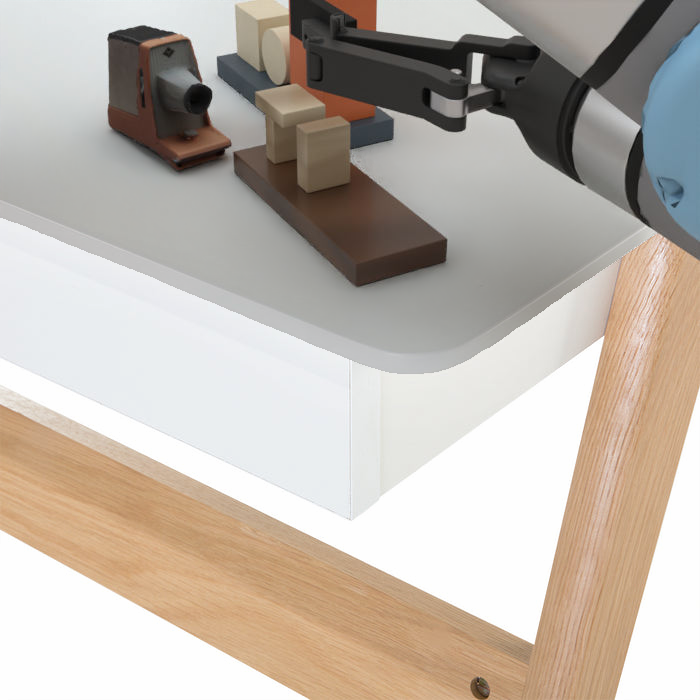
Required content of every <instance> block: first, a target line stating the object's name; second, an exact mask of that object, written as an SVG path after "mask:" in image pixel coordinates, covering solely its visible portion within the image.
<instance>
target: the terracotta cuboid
mask: <svg viewBox="0 0 700 700" xmlns="http://www.w3.org/2000/svg"><path fill="white" fill-rule="evenodd" d="M325 1H327V2H329V3H330V4H332V5H334V6H335V7H337V8H338V9H340V10H342V11H343V12H345V13H347V14H348V15H350V16H352V17H353V18H355V19H357V29H365V30H372V31H377V20H378V19H377V18H378V17H377V15H378V0H325ZM288 9H289V41H290V82H291V84H298V85H299V86H301V87H302V88H303V89H305V90H306V91H307V92H309V93H310V94H311V95H313V96H314V97H315V98H317V99H318V100H319V101H321V102H322V103H323V104H325V119H326V118H331V117H335V116H341V117H342V118H344V119H345V120H346V121H348V122H351V121H355V120H360V119H364V118H369V117H373V116H375V106H374V105H370V104H367V103H363V102H359V101H356V100H352V99H348V98H345V97H341V96H337V95H334V94H330V93H326V92H323V91H319V90H315V89H312V88H309V87H308V86H307V77H306V49H304V48H303V45H302V41H300V40H299V39H297V38H296V37H294V36H293V35H291V27H290V0H288Z"/></svg>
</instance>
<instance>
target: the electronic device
mask: <svg viewBox="0 0 700 700" xmlns="http://www.w3.org/2000/svg"><path fill="white" fill-rule="evenodd" d="M106 40H107V49H108V53H107V57H108V59H107V61H108V62H107V63H108V65H107V69H108V104H107V110H106V111H107V123H108V126H109V127H110V128H111V129H112V130H114V131H118V132H120V133H122V134H124V135H125V136H127V137H128V138H129V139H131V140H133V141H134V142H135V143H137V144H140V145H142V146H144V147H145V148H146V149H150V150H153V151H154V152H156V154H157V155H159V156H161V158H162V159H163V160H164V161H165V162H167V163H169V164H170V166H171V168H173V170H175V171H182V170H185V169H187V168H191V167H195V166H198V165H202V164H205V163H207V162H211V161H215V160H219V159H221V158H223V157H224V156H225V154H226V149H230V148H231V147H232V146H233V142H232V140H231V138H229V137H228V136H227V135H225V134H224V133H222V132H221V131H220V130H219V129H217V127H215V126H214V125H213V124H212V121H211V117H210V115H209V108H210V107H211V103H212V101H213V90H212V88H211V87H210V86H208V85H207V84H205V83H203V78H202V75H201V72H200V69H199V63H198V59H197V56H196V54H195V50H194V46H193V45H192V44H193V43H192V41H191V38H189V37H188V36H185V35H184V34H182V33H180V34H179V33H177V32H174V31H171V30H164V29H159V28H156V27H152V26H148V25H145V24H141V25H140V24H139V25H136V26H134V27H127V28H125V29H117V30H114V31H111V32H109V33H108V35H107V37H106Z"/></svg>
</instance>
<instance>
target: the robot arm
mask: <svg viewBox="0 0 700 700" xmlns="http://www.w3.org/2000/svg"><path fill="white" fill-rule="evenodd" d="M476 2H478V3H479V4H480V5H482V6H483V7H485V9H487V10H488V11H490V12H491V13H493V14H494V15H495V16H496V17H498V19H500V20H502V21H503V22H504V23H505V24H507V25H508V26H510V27H511V28H512V29H513V30H515V31H516V32H518V33H519V34H520V35H513V36H511V37H509V38H503V37H495V36H489V35H480V34H473V33H464V34H462V36H460V38H459V39H458V40H457V41H455V40H454V41H453V40H446V39H440V38H439V39H438V38H432V37H424V36H417V35H409V34H402V33H395V32H387V31H381V30H380V31H379V30H376V31H372V30H365V29H357V19H355V18H353V17H352V16H350V15H348V14H347V13H345V12H343V11H342V10H340V9H338V8H337V7H335V6H334V5H332V4H330V3H329V2H327V1H325V0H290V27H291V35H293V36H294V37H296V38H297V39H299V40H300V41H302V45H303V48H304V49H306V77H307V86H308V87H309V88H312V89H315V90H319V91H323V92H326V93H330V94H334V95H337V96H341V97H345V98H348V99H352V100H356V101H359V102H363V103H367V104H370V105H374V106H376V107H378V108H380V109H381V108H382V109H386V110H389V111H393V112H396V113H401V114H403V115H407V116H411V117H415V118H419V119H421V120H424V121H426V122H428V123H430V124H431V125H434V126H435V127H437V128H439V129H441V130H443V131H444V132H448V133H461V132H465V130H466V129H467V120H468V115H469V114H473V113H476V112H479V111H482V110H485V111H486V112H488V113H490V114H492V115H496V116H500V117H505V118H508V119H510V120H513V122H514V123H515V125H516V126H517V128H518V130H519V132H520V134H521V135H522V138H523V139H524V141H525V143H526V145H527V146H528V149H530V151H531V152H532V153H533V154H534V155H535V156H536V157H537V158H538V159H540V160H541V161H542V162H543V163H546V164H548V165H549V166H550V167H552V168H554V169H555V170H557V171H558V172H559V173H562V174H563V175H564V176H566V177H568V178H569V179H571V180H572V181H574V182H575V183H577V184H580V185H582V186H585V187H586V188H587V189H589V190H590V191H592V192H594V193H595V194H596V195H598V196H600V197H601V198H602V199H605V200H607V202H609V203H611V204H612V205H614V206H616V207H618V208H619V209H621V210H623V211H624V212H626V213H627V214H629V215H631V216H633V217H634V218H636V219H637V220H639V221H640V222H641V223H642V224H644V225H645V226H647V227H648V228H650V229H651V230H652V231H654V232H656V233H657V234H659V235H661V236H662V237H663V238H665V239H666V240H668V241H670V242H671V243H672V244H673V245H675V246H677V247H678V248H680V249H681V250H683V251H684V252H686V253H687V254H688V255H690V256H692V257H693V258H695V259H696V260H698V261H699V262H700V0H476ZM474 54H480V55H483V56H482V60H481V70H480V72H481V73H480V82H478V83H472V77H473V60H474Z"/></svg>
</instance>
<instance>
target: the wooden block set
mask: <svg viewBox="0 0 700 700" xmlns="http://www.w3.org/2000/svg"><path fill="white" fill-rule="evenodd" d="M234 15H235V16H234V17H235V35H236V37H235V38H236V52H234V53H228V54H223V55H217V56H216V70H217V76H218V77H219V78H221V79H222V80H223V81H224V82H225V83H227V84H228V85H229V86H230V87H232V88H233V89H234V90H235V91H236V92H238V94H240V95H241V96H242V97H243V98H245V99H246V100H247V101H249V102H250V103H251V104H253V106H255V107H256V104H255V92H257V91H262V90H266V89H271V88H276V87H281V86H286V85H291V82H290V41H289V8H287V7H286V6H284V5H283V4H281V3H280V2H278V1H276V0H249V1H242V2H237V3H234ZM256 108H257V109H259V108H258V107H256ZM349 123H350V150H351V149H355V148H359V147H363V146H368V145H373V144H377V143H380V142H385V141H389V140H394V134H395V133H394V132H395V118H394V117H392V116H391V115H389V114H388V113H386V111H384V110H382V109H381V108H380V107H378V106H375V116H373V117H369V118H364V119H360V120H355V121H351V122H349Z"/></svg>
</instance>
